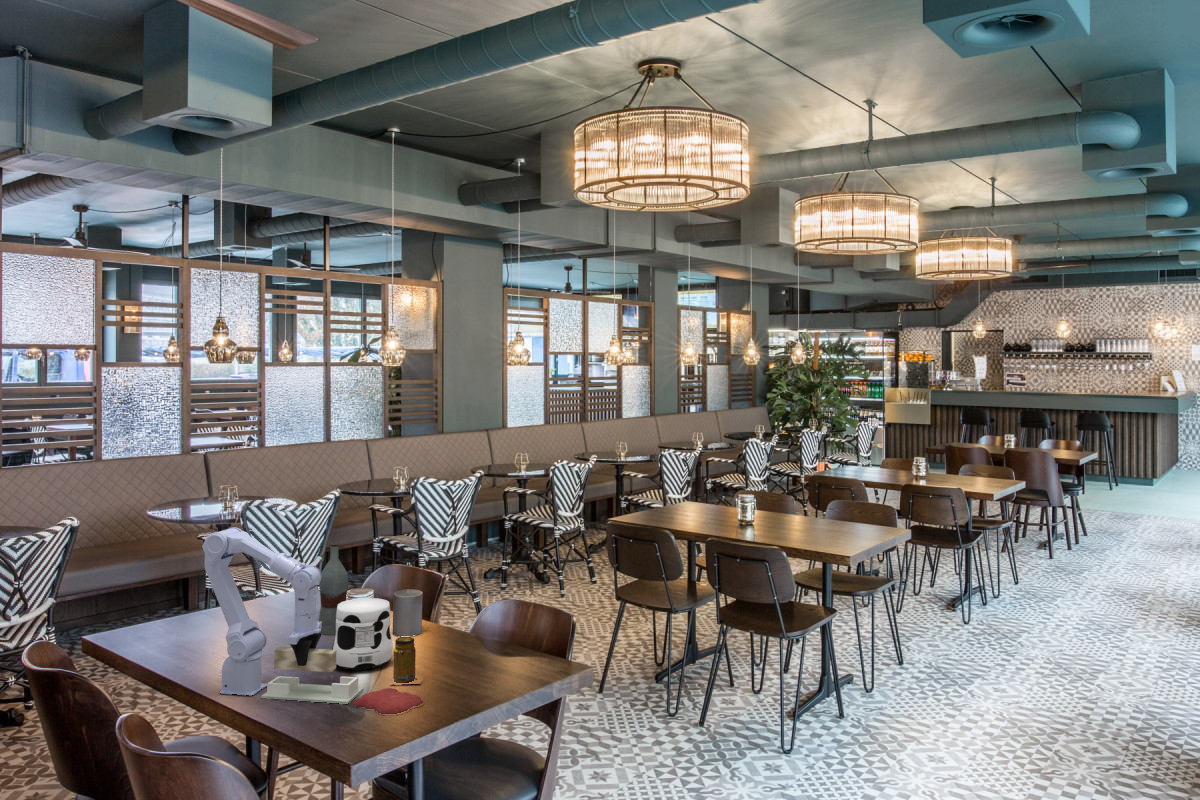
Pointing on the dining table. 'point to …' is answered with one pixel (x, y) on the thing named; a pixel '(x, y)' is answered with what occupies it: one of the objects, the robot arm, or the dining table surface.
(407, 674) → the condiment
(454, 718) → the dining table surface
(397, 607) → the pillar candle
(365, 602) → the milk container
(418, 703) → the patty
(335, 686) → the end caps
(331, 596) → the bottle
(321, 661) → the slat
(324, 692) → the cap board
